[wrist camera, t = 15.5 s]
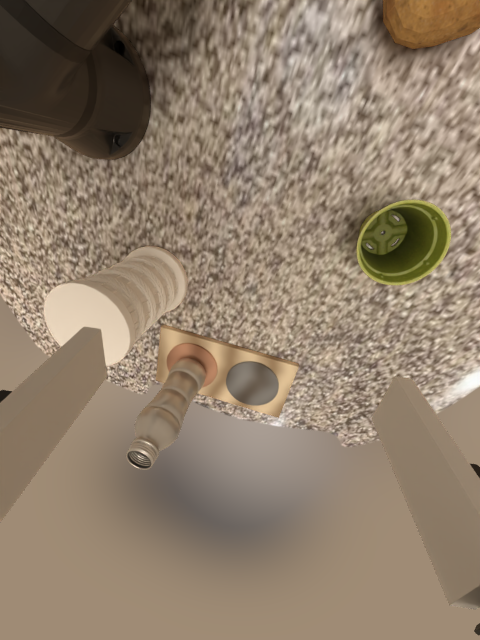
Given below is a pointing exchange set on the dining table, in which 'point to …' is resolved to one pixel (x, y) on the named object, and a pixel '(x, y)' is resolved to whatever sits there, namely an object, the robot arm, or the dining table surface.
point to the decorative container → (118, 300)
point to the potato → (430, 20)
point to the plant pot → (403, 242)
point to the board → (229, 370)
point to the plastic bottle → (165, 413)
